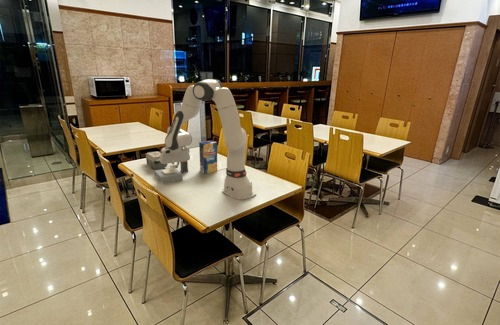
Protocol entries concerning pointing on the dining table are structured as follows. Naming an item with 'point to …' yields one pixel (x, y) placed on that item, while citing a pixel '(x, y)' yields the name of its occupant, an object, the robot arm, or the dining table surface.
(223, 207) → the dining table surface
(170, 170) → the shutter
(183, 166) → the plug
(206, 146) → the blue cracker box
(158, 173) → the socket
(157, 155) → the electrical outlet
